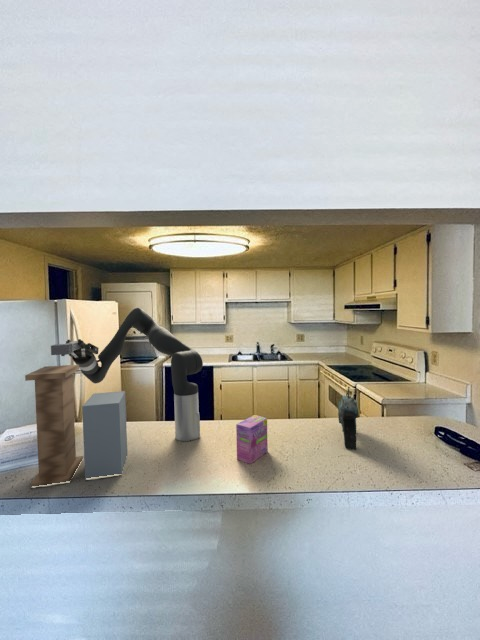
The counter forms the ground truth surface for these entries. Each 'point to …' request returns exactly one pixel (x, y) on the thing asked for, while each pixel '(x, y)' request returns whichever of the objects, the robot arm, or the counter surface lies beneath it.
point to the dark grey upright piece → (348, 419)
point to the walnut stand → (55, 424)
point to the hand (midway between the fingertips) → (73, 341)
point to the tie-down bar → (64, 348)
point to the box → (251, 438)
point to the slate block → (104, 434)
